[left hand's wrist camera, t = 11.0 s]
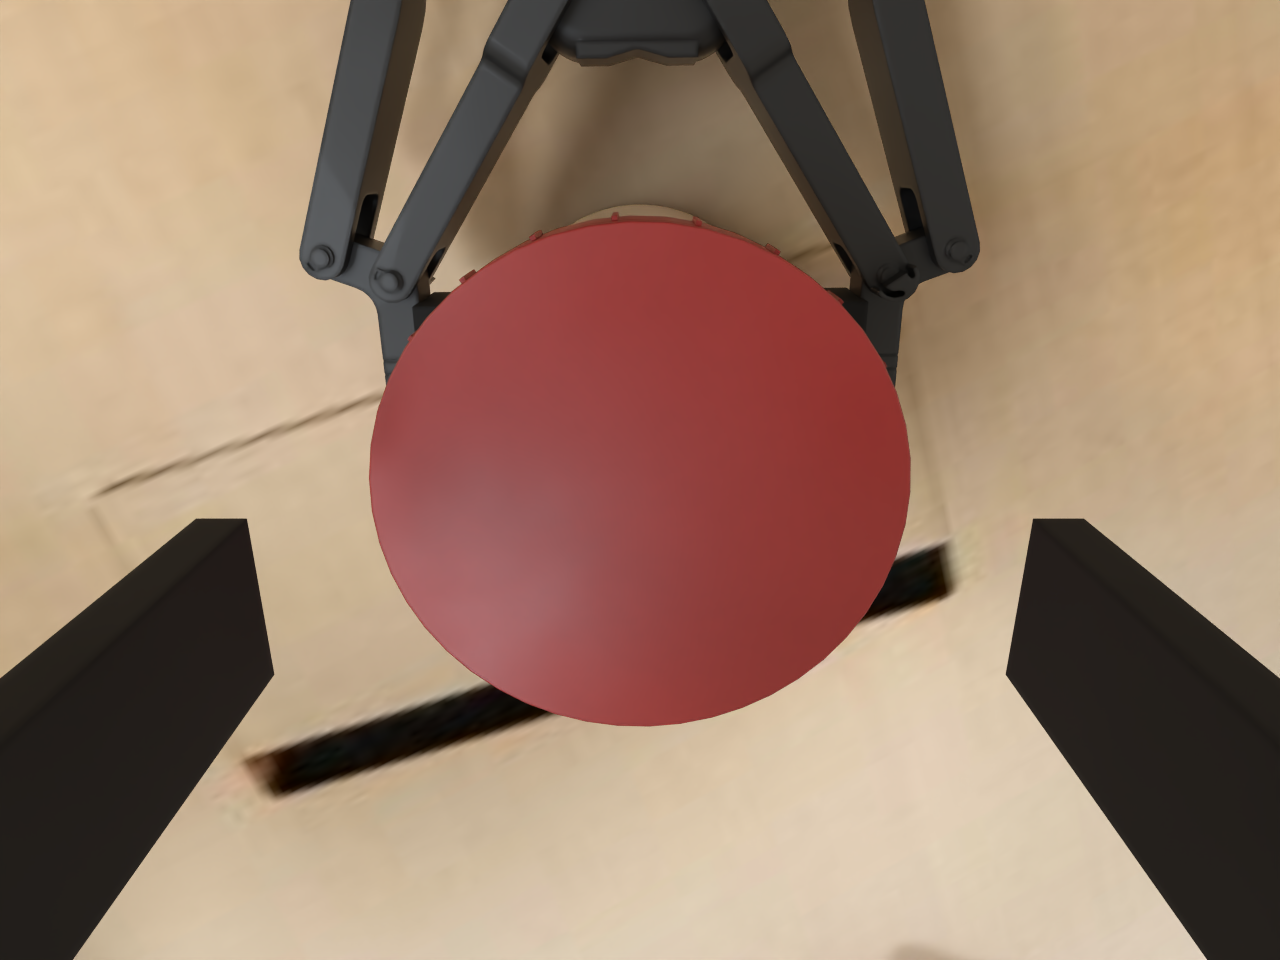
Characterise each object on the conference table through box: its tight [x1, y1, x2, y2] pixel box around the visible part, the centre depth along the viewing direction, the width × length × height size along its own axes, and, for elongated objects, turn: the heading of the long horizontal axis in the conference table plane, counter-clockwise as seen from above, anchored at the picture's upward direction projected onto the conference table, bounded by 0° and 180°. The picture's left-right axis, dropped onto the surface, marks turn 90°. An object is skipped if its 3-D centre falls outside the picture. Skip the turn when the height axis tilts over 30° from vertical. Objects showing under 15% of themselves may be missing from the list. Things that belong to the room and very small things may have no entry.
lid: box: [369, 212, 911, 726], centre depth 18 cm, size 11×11×2 cm
